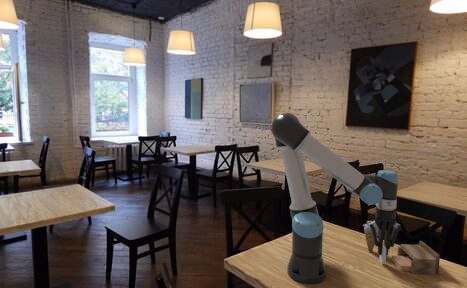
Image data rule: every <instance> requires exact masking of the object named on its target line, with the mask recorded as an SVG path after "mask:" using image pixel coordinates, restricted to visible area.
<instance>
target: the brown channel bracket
mask: <svg viewBox="0 0 467 288" xmlns="http://www.w3.org/2000/svg"><path fill="white" fill-rule="evenodd" d="M396 256H410V257H411V258H412V259H413V260H411V271H410V273H411V274H413V275H414V274H415V275H435V276H437V275H438V276H439V274H440V273H439V272H440V261H441V260H440V258H441V255H440V254H439V253H438V252H436V251H435V250H434V249H433V248H431V247H430V246H429V245H428V244H427V243H425V242H424V241H423V240H419V241H418V244H405V243H404V244H403V243H402V244H401V243H400V245H399V246H397V255H396Z"/></svg>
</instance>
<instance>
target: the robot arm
mask: <svg viewBox="0 0 467 288" xmlns="http://www.w3.org/2000/svg"><path fill="white" fill-rule="evenodd" d="M271 133H272V136H273V138H274V139H275V140H274V141H275V146H276V148H277V149H278V150H280V152H281V157H282V161H283V167H284V171H285V176H286V181H287V185H288V190H289V195H290V199H291V200H290V201H291V203H290V205H289V207H288V208H289V212H290V216H291V221H292V224H291V228H292V231H291V232H292V234H291V235H292V241H291V242H292V243H291V245H292V246H291V249H292V250H291V251H292V252H291V255H290V258H289V261H288V262H287V263H288V264H287V266H286V267H287V268H286V269H287V274H289V275H288V277H290V278H291V277H292V278H291V279H292V280H294V279H295V281H296V280H297V282H299V281H300V282H299V283H302V282H304V284H318V283H321V282H323V281H325V280H326V278H327V268H326V265H325V262H324V258H323V236H324V235H323V234H324V233H323V232H324V221H323V218H322V217H321V216H320V215H319V212H318V207H317V202H316V201H315V200H313V198H312V196H311V195H312V194H311V189H310V185H309V180H308V175H307V171H306V166H305V161H304V156H305V158H307V159H308V160H309V161H312V162H313V163H314V164H315V165H317V166H318V167H319V168H321V169H322V170H323V171H325V172H326V173H327V174H329V176H331V177H332V178H334V179H335V180H337V181H338V182H339V183H341V184H342V185H343V186H344V187H345V188H346V190H347V192H348V193H353V194H354V195H356V196H358V197H359V198H360V199H361V201H363V202H364V203H365V204H367V205H371V206H373V205H375V206H376V207H375V214H374V215H375V217H374V220H373V221H372V222H371V223H370V222H369V223H368V222H367V223H368V225H369V226H370V228H371V233H372V238H373V243H374V244H375V245H374V247H377V254H378V255H379V261H380V263H381V264H386V261H387V260H386V259H387V256H388V255H389V250H390V248H393V247H394V246H395V243H396V241H397V238H398V235H399V231H400V230H401V229H402V227H403V226H402V225H401V224H400V223H397V221H396V216H397V215H396V214H397V213H396V212H397V202H398V201H397V200H398V199H397V197H398V188H399V175H398V173H397V172H396V171H393V170H387V169H386V170H385V169H383V170H378V171H377V174H376V175H373V174H371V175H370V174H362V173H361V171H360V170H359V171H358V170H357V169H356V168H354V167H353V166H352V165H351V164H350V163H348V162H347V161H345V160H344V159H343V158H341V157H340V156H339V155H338V154H337V153H335V152H333V151H332V150H331V149H330V148H328V147H327V146H325V145H324V144H323V143H321V142H320V141H319V140H317V138H315V137H314V136H313V135H311V131H310V130H309V129H307V128H306V127H305V126H304V125H303V124H302V123H301V122H300V120H299V118H298V117H297V116H296V114H292V113H290V112H286V113H281V114H279V115H277V116H276V117H275V118H274V119H273V121H272V123H271ZM375 224H376V225H377V226H378V230H379V231H378V236H377V235H376V230H375Z"/></svg>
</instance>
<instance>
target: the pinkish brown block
mask: <svg viewBox="0 0 467 288" xmlns="http://www.w3.org/2000/svg"><path fill="white" fill-rule="evenodd" d="M390 260H391V261H392V262H393V264H394V265H395V266H396V268H398V269H399V270H400V271H402V272H411V260H413V259H412V258H411V257H410V256H397V255H391V259H390Z"/></svg>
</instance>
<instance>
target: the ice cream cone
mask: <svg viewBox="0 0 467 288" xmlns="http://www.w3.org/2000/svg"><path fill="white" fill-rule="evenodd" d="M369 222H370V223H371V222H373V221H372V220H367V221H366V223H365V224H363V225H362V227H363V228H364V236H365V241H366V246H367V249H368V252H369V253H372V252H373V251H374V247H375V244H374V243H373V238H372V233H371V228H370V226H369V225H368V223H369ZM375 230H376V235H377V237H378V231H379V230H378V226H377V225H376V224H375Z"/></svg>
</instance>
